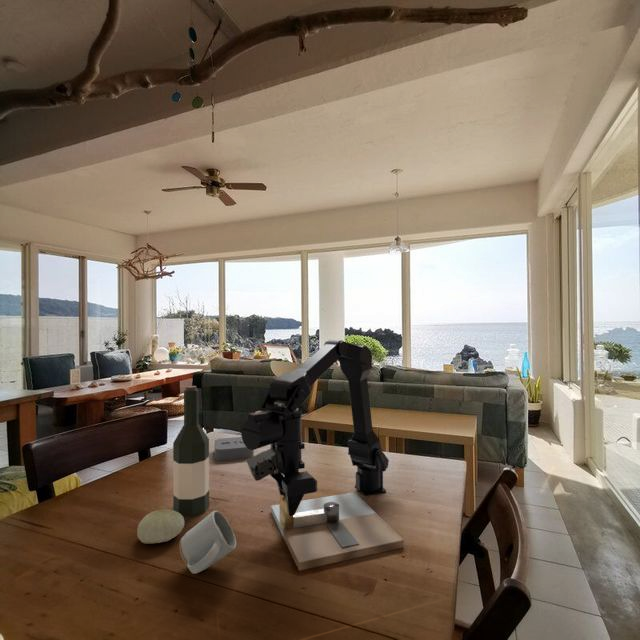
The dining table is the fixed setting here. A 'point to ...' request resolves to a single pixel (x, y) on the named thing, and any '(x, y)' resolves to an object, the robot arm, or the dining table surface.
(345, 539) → the door board
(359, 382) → the robot arm
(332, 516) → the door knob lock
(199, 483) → the wine bottle
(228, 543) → the ceramic mug
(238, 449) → the streaming box
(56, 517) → the dining table surface
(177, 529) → the sea urchin shell
